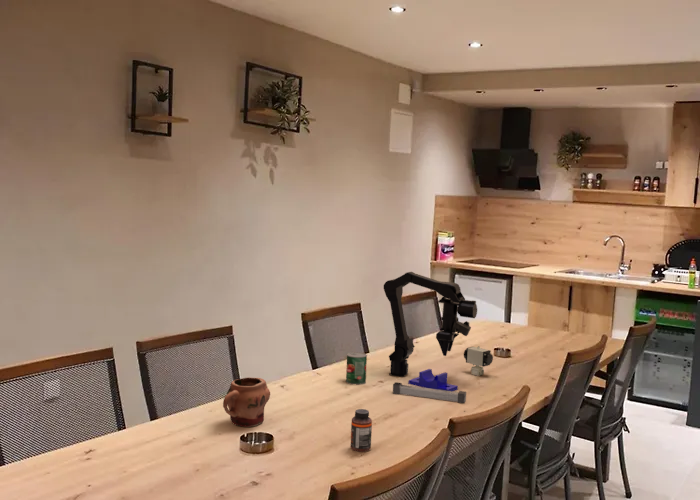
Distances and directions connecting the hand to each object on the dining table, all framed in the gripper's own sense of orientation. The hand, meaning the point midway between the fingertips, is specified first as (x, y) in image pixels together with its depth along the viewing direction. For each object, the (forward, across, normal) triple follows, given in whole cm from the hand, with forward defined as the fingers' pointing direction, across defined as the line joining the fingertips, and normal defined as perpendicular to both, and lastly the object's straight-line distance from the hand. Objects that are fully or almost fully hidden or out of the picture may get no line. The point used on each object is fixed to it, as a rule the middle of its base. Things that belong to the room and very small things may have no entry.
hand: (446, 353), depth 277 cm
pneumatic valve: (+12, +18, -10) cm, 24 cm away
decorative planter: (+13, -79, +48) cm, 93 cm away
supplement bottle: (+12, -83, +8) cm, 85 cm away
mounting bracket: (+12, -8, +3) cm, 15 cm away
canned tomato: (+13, -16, +32) cm, 38 cm away
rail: (+12, -23, +1) cm, 26 cm away
